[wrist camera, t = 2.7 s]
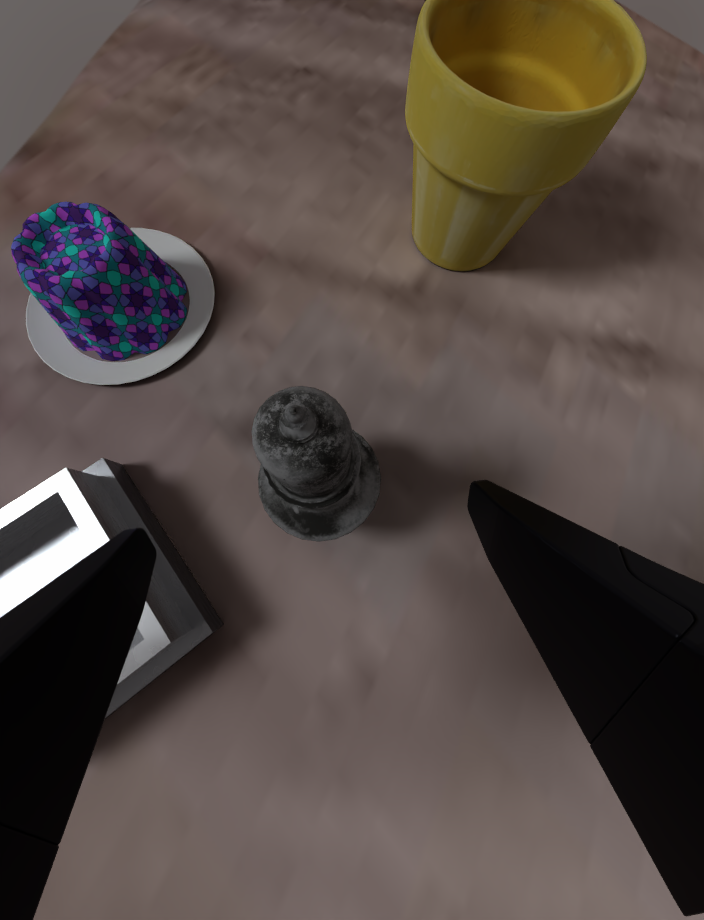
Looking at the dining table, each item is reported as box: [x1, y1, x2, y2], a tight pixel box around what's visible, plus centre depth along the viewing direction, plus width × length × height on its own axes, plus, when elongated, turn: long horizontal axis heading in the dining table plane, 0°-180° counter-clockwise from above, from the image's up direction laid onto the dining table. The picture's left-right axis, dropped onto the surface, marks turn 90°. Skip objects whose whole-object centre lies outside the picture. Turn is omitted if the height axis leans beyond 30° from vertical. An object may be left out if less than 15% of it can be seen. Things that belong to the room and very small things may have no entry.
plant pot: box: [405, 0, 647, 271], centre depth 19 cm, size 10×10×10 cm
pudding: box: [11, 202, 215, 385], centre depth 19 cm, size 12×12×5 cm
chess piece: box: [252, 386, 381, 541], centre depth 13 cm, size 6×6×12 cm
